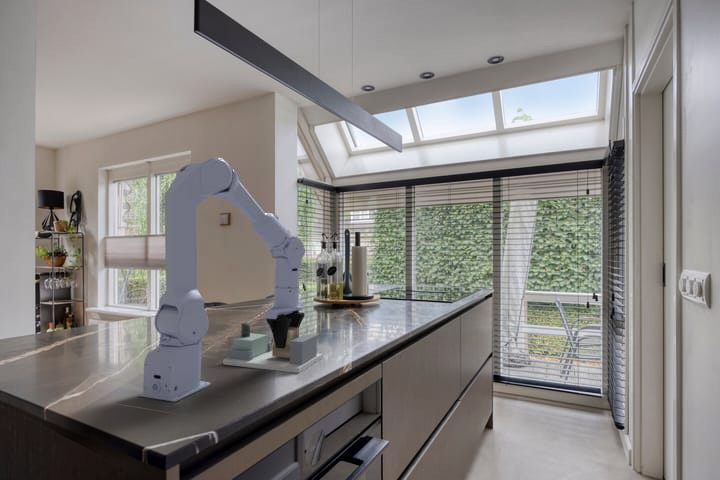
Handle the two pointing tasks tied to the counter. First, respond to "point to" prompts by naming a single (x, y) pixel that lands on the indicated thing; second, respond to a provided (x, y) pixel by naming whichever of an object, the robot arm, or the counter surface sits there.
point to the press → (300, 357)
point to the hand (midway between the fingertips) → (285, 345)
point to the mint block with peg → (251, 341)
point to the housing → (285, 352)
